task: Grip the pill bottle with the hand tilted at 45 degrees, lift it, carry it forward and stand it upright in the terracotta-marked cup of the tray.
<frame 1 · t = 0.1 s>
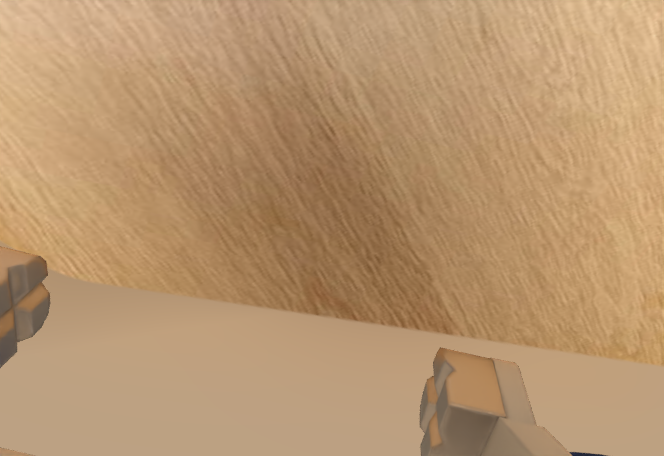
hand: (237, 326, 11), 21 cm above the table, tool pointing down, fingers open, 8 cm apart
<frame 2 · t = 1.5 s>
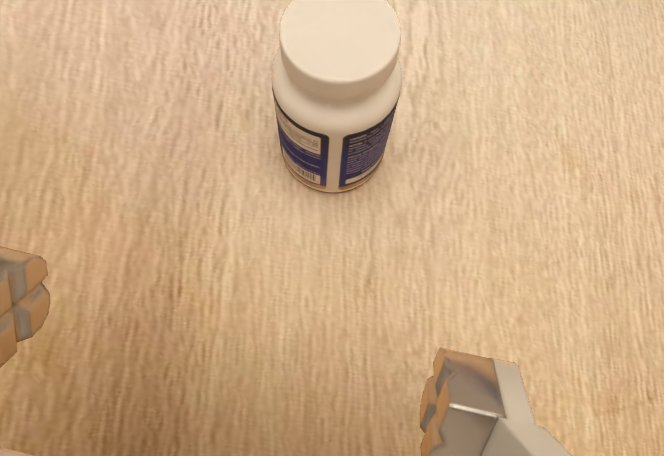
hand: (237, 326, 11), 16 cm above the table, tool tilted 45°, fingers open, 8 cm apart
pill bottle: (331, 149, 29), on the table
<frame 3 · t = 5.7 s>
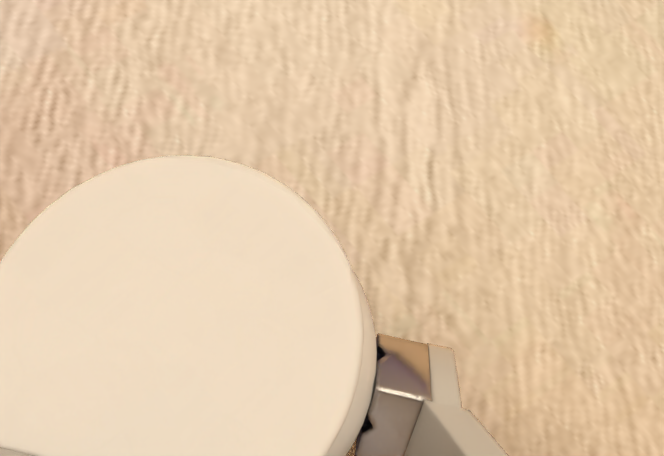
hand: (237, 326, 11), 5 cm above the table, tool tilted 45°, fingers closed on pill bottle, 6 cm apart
pill bottle: (256, 371, 16), on the table, touching gripper
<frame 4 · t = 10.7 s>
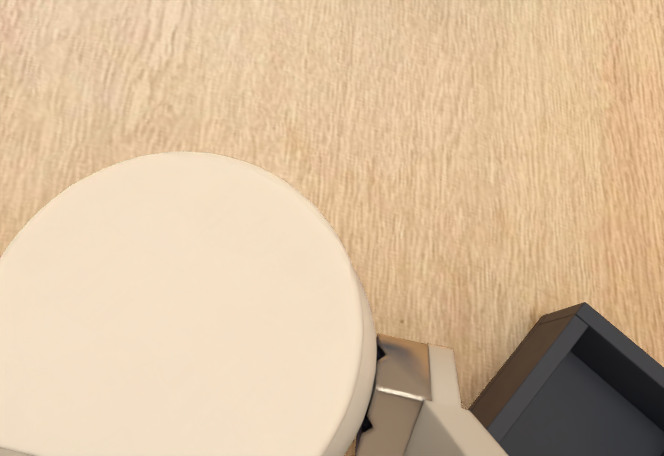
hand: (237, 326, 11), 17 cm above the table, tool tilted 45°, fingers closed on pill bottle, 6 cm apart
pill bottle: (256, 369, 16), point 12 cm above the table, touching gripper
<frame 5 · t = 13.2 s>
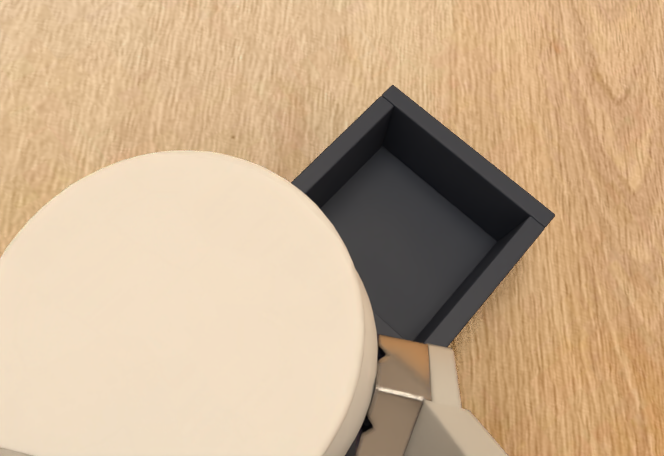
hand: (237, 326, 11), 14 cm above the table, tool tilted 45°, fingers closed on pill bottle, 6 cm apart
pill bottle: (256, 369, 16), point 8 cm above the table, touching gripper
tray: (332, 309, 25), on the table
when the fingers open (6 cm above the table, at t = 15.8 s): pill bottle stays where it is, resting on tray.
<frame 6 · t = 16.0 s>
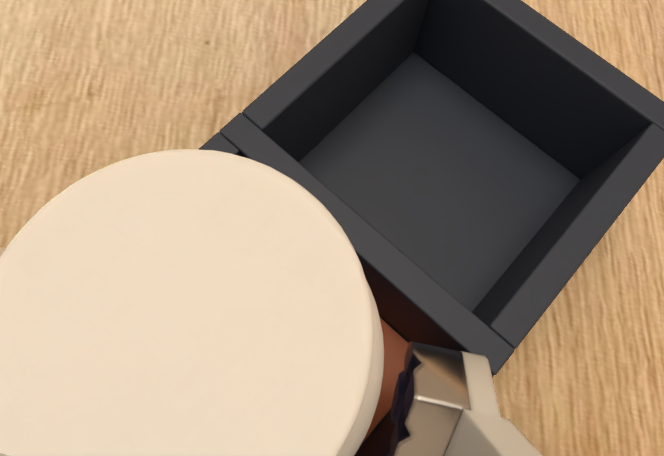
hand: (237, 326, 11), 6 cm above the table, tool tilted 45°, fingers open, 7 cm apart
pill bottle: (258, 371, 15), point 1 cm above the table, touching tray
tray: (346, 275, 17), on the table
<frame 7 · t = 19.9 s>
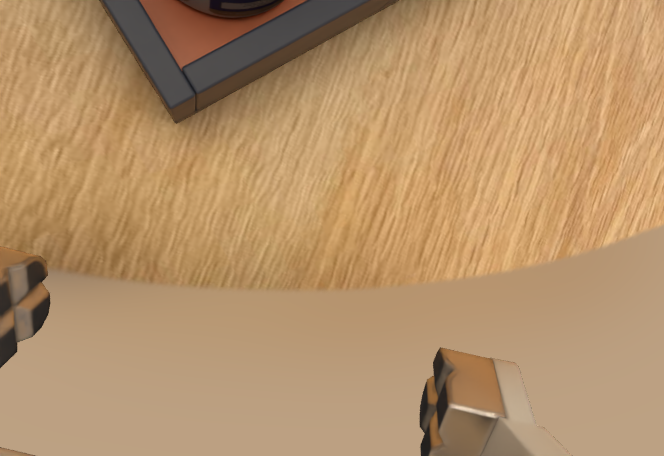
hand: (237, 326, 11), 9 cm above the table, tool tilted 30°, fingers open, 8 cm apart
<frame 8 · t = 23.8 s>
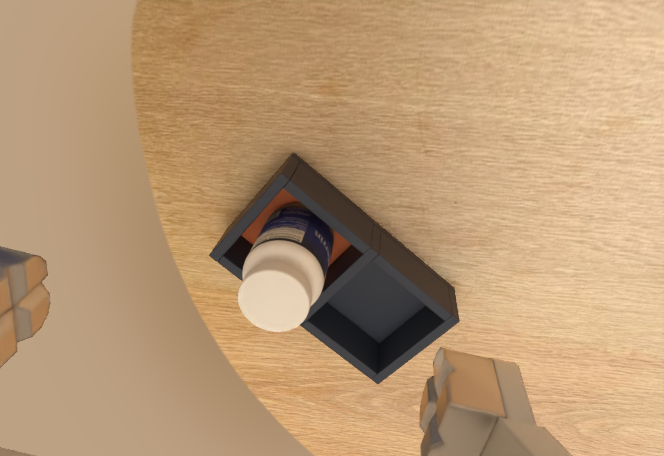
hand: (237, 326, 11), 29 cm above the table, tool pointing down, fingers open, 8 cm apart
pill bottle: (300, 232, 42), point 1 cm above the table, touching tray
tray: (340, 258, 43), on the table
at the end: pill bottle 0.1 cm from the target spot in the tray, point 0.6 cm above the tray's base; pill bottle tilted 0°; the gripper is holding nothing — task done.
